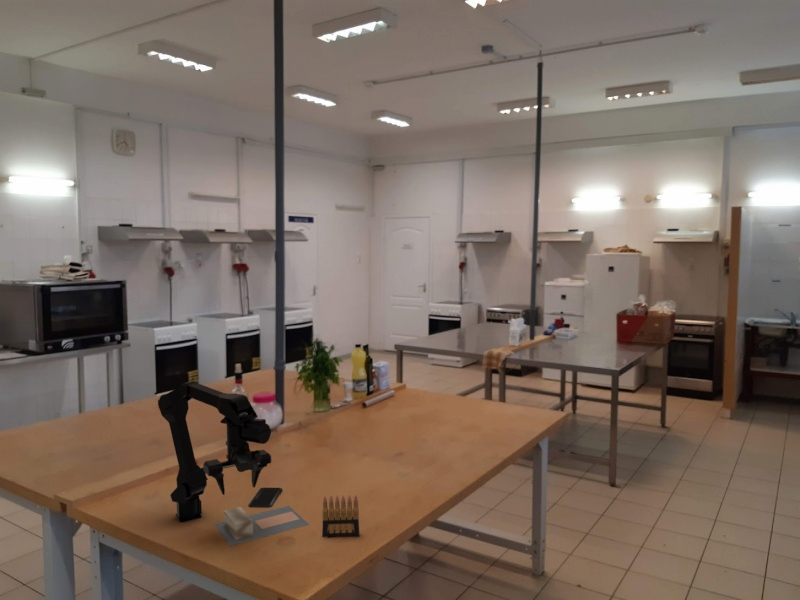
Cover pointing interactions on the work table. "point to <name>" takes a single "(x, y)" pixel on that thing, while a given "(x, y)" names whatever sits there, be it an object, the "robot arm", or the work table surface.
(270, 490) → the phone
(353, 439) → the work table surface
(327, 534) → the ammunition clip
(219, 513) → the work table surface
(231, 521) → the ash block
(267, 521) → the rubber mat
